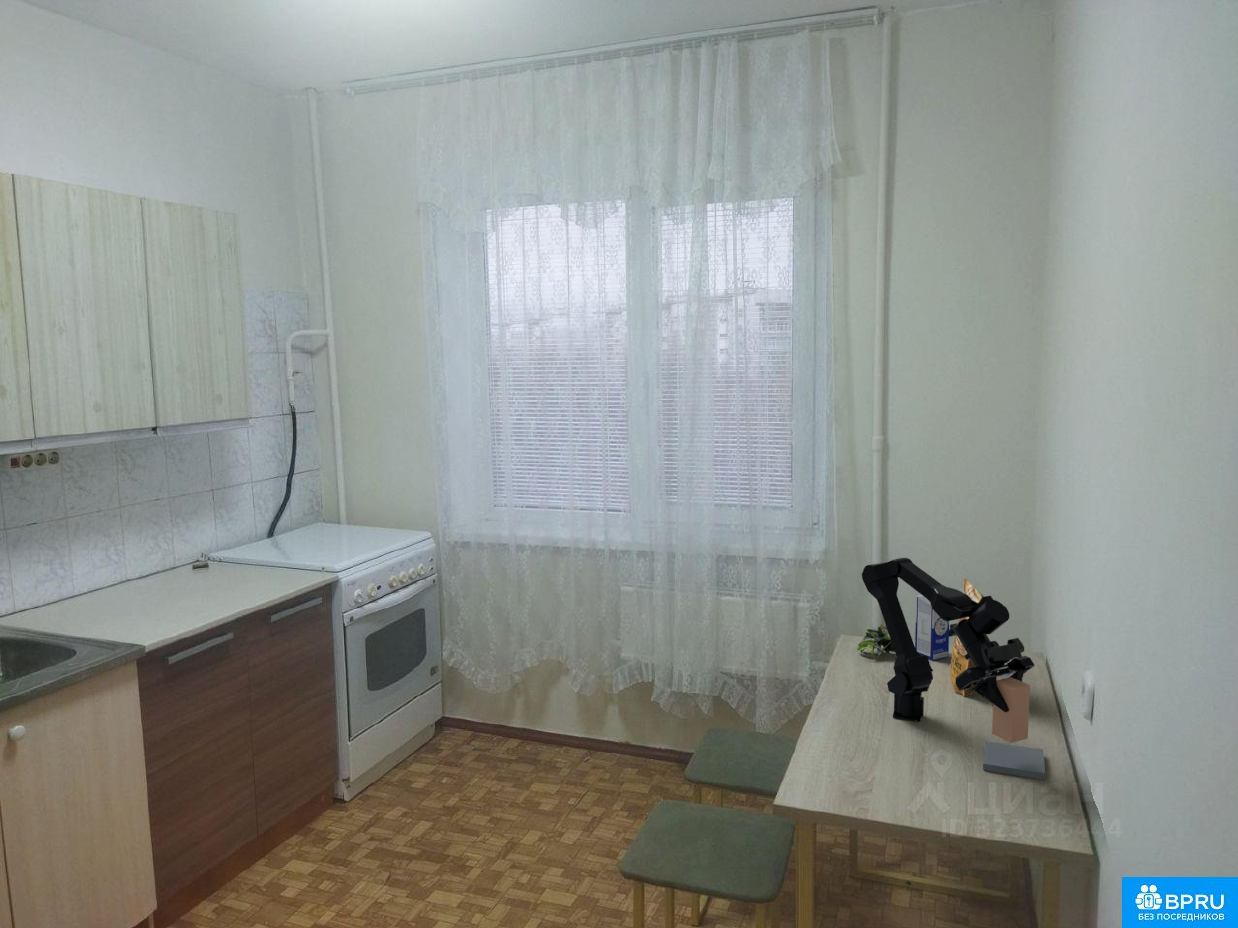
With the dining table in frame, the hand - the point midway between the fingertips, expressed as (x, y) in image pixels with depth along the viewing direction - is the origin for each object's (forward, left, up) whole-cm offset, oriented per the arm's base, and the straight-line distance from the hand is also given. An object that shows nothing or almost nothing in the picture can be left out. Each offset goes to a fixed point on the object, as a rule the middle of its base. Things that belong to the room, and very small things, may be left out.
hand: (1016, 709), depth 185 cm
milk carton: (-22, +69, -14) cm, 74 cm away
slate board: (0, +3, -13) cm, 14 cm away
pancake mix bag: (-12, +47, -14) cm, 50 cm away
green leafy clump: (-36, +63, -14) cm, 74 cm away
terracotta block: (-1, +1, -7) cm, 7 cm away
